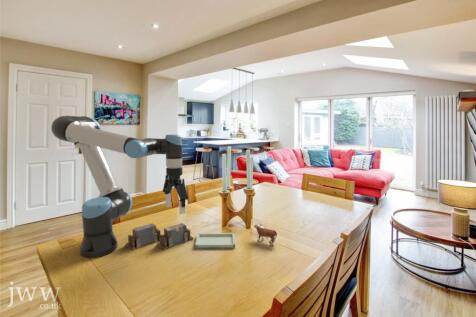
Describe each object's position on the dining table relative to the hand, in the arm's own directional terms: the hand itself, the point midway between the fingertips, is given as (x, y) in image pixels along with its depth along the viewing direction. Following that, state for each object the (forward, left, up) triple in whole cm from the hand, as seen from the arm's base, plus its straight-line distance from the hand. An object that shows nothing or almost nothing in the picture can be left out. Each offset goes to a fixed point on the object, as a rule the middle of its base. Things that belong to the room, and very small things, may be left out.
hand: (175, 209), depth 122 cm
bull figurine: (+34, -29, -17) cm, 47 cm away
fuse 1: (-12, +9, -17) cm, 22 cm away
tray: (+15, -13, -17) cm, 26 cm away
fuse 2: (0, 0, -17) cm, 17 cm away
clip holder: (0, 0, -17) cm, 17 cm away
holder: (-12, +9, -17) cm, 22 cm away
